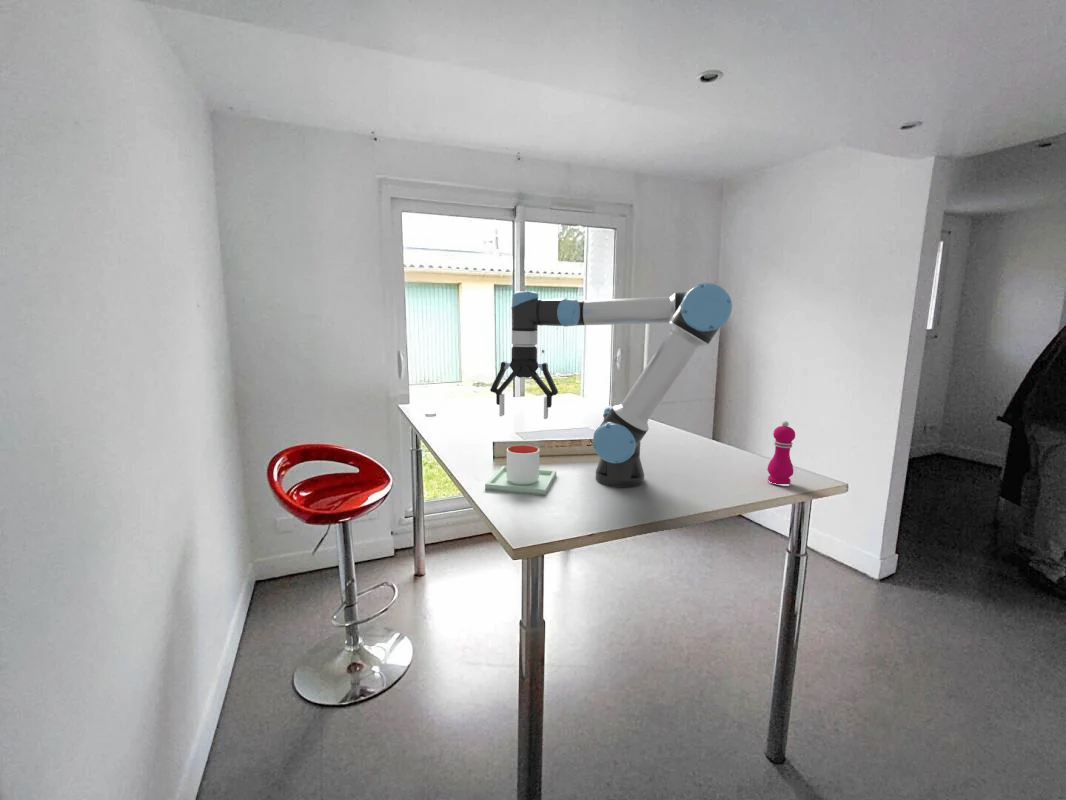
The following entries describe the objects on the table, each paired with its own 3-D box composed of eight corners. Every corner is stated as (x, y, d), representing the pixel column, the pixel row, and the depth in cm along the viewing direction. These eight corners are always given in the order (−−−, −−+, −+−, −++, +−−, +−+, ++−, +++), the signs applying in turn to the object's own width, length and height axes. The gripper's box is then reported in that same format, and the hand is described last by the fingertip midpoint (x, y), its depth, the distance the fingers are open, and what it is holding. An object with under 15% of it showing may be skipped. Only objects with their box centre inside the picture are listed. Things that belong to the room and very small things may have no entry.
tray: (556, 475, 150) (556, 470, 149) (545, 495, 132) (545, 489, 132) (502, 471, 154) (502, 465, 153) (485, 489, 136) (485, 483, 136)
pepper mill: (794, 483, 146) (801, 421, 143) (788, 489, 141) (795, 425, 138) (770, 478, 151) (776, 417, 148) (762, 483, 146) (769, 421, 143)
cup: (544, 479, 144) (545, 448, 143) (527, 488, 136) (527, 455, 134) (518, 473, 150) (518, 443, 148) (499, 481, 141) (500, 450, 140)
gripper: (568, 346, 137) (566, 416, 141) (487, 344, 142) (488, 412, 146) (564, 347, 130) (562, 421, 133) (479, 345, 135) (480, 416, 139)
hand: (523, 416), depth 140 cm, fingers open, 13 cm apart
